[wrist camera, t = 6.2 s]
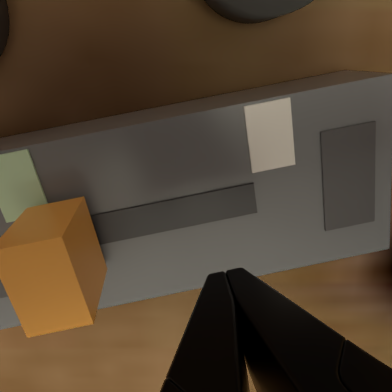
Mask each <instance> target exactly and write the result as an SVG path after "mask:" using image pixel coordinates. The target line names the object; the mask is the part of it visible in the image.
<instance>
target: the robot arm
mask: <svg viewBox="0 0 392 392" xmlns="http://www.w3.org/2000/svg"><path fill="white" fill-rule="evenodd" d="M245 361H246V362H245ZM246 364H247V367H248V370H249V373H250V376H251V378H252V381H253V383H254V386H255V389H256V391H257V392H392V368H390V367H388V366H387V365H385V364H384V363H382V362H380V361H379V360H377V359H376V358H374V357H373V356H371V355H370V354H368V353H367V352H365V351H364V350H362V349H361V348H359V347H358V346H356V345H355V344H353V343H352V342H350V341H349V340H345V338H344V337H343V336H341V335H340V334H339V333H337V332H336V331H334V330H333V329H331V328H330V327H328V326H327V325H325V324H324V323H323V322H321V321H320V320H318V319H317V318H315V317H314V316H312V315H311V314H309V313H308V312H307V311H305V310H304V309H302V308H301V307H299V306H298V305H296V304H295V303H293V302H292V301H291V300H289V299H288V298H286V297H285V296H283V295H282V294H280V293H279V292H277V291H276V290H275V289H273V288H272V287H270V286H269V285H267V284H266V283H264V282H263V281H262V280H260V279H259V278H257V277H256V276H254V275H253V274H251V273H250V272H248V271H247V270H246V269H244V268H242V267H239V268H235V269H230V270H227V271H226V273H225V272H223V271H221V272H216V273H211V274H209V275H208V276H207V278H206V280H205V283H204V285H203V288H202V290H201V293H200V295H199V297H198V300H197V302H196V305H195V307H194V310H193V312H192V315H191V317H190V320H189V322H188V324H187V327H186V329H185V332H184V334H183V337H182V339H181V342H180V344H179V346H178V349H177V351H176V354H175V356H174V359H173V361H172V364H171V366H170V369H169V371H168V373H167V376H166V379H165V380H164V383H163V385H162V388H161V390H160V392H250V390H249V382H248V375H247V368H246Z"/></svg>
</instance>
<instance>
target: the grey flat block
mask: <svg viewBox="0 0 392 392" xmlns="http://www.w3.org/2000/svg"><path fill="white" fill-rule="evenodd" d="M391 175H392V73H380V72H365V71H350V70H343V71H338V72H333V73H328V74H323V75H318V76H313V77H308V78H303V79H298V80H293V81H287V82H282V83H277V84H272V85H267V86H262V87H257V88H252V89H247V90H242V91H237V92H232V93H226V94H221V95H216V96H211V97H206V98H201V99H196V100H191V101H186V102H181V103H176V104H171V105H165V106H160V107H155V108H150V109H145V110H140V111H135V112H130V113H125V114H120V115H115V116H109V117H104V118H99V119H94V120H89V121H84V122H79V123H74V124H69V125H64V126H59V127H54V128H48V129H43V130H38V131H33V132H28V133H23V134H18V135H13V136H8V137H3V138H0V237H1V236H2V235H3V234H4V233H5V232H6V231H7V230H8V228H9V227H10V226H11V225H12V224H13V223H14V222H15V221H16V219H17V218H18V217H19V216H20V215H21V214H22V213H23V212H24V210H25V209H26V208H29V207H34V206H39V205H43V204H48V203H53V202H58V201H63V200H68V199H73V198H78V197H83V196H84V198H85V201H86V204H87V207H88V210H89V213H90V216H91V219H92V223H93V226H94V229H95V232H96V235H97V238H98V241H99V244H100V247H101V250H102V254H103V257H104V260H105V263H106V266H107V272H106V276H105V280H104V284H103V288H102V292H101V296H100V300H99V304H98V308H97V309H102V308H107V307H112V306H116V305H121V304H126V303H131V302H136V301H140V300H145V299H150V298H155V297H160V296H164V295H169V294H174V293H179V292H184V291H188V290H193V289H198V288H203V285H204V283H205V280H206V278H207V276H208V275H209V274H211V273H216V272H221V271H223V272H225V273H226V271H227V270H230V269H235V268H239V267H242V268H244V269H246V270H247V271H248V272H250V273H251V274H253V275H254V276H261V275H265V274H270V273H275V272H280V271H285V270H289V269H294V268H299V267H304V266H309V265H313V264H318V263H323V262H328V261H333V260H338V259H342V258H347V257H352V256H357V255H362V254H366V253H371V252H376V251H381V250H386V249H389V244H390V209H391ZM20 325H21V323H20V321H19V319H18V316H17V314H16V312H15V310H14V308H13V306H12V303H11V301H10V299H9V297H8V295H7V293H6V290H5V288H4V286H3V284H2V282H1V280H0V330H1V329H6V328H11V327H15V326H20Z"/></svg>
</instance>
